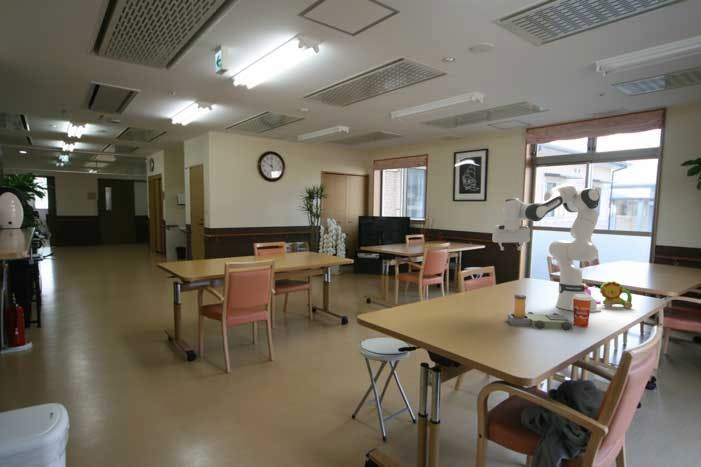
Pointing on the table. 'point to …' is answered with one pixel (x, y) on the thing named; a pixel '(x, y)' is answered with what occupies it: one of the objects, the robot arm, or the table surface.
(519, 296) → the orange and grey cylinder
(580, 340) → the table surface
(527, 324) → the box
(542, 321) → the toy wheeled cart
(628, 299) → the toy lion
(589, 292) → the bracket
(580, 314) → the coffee cup
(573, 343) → the table surface
